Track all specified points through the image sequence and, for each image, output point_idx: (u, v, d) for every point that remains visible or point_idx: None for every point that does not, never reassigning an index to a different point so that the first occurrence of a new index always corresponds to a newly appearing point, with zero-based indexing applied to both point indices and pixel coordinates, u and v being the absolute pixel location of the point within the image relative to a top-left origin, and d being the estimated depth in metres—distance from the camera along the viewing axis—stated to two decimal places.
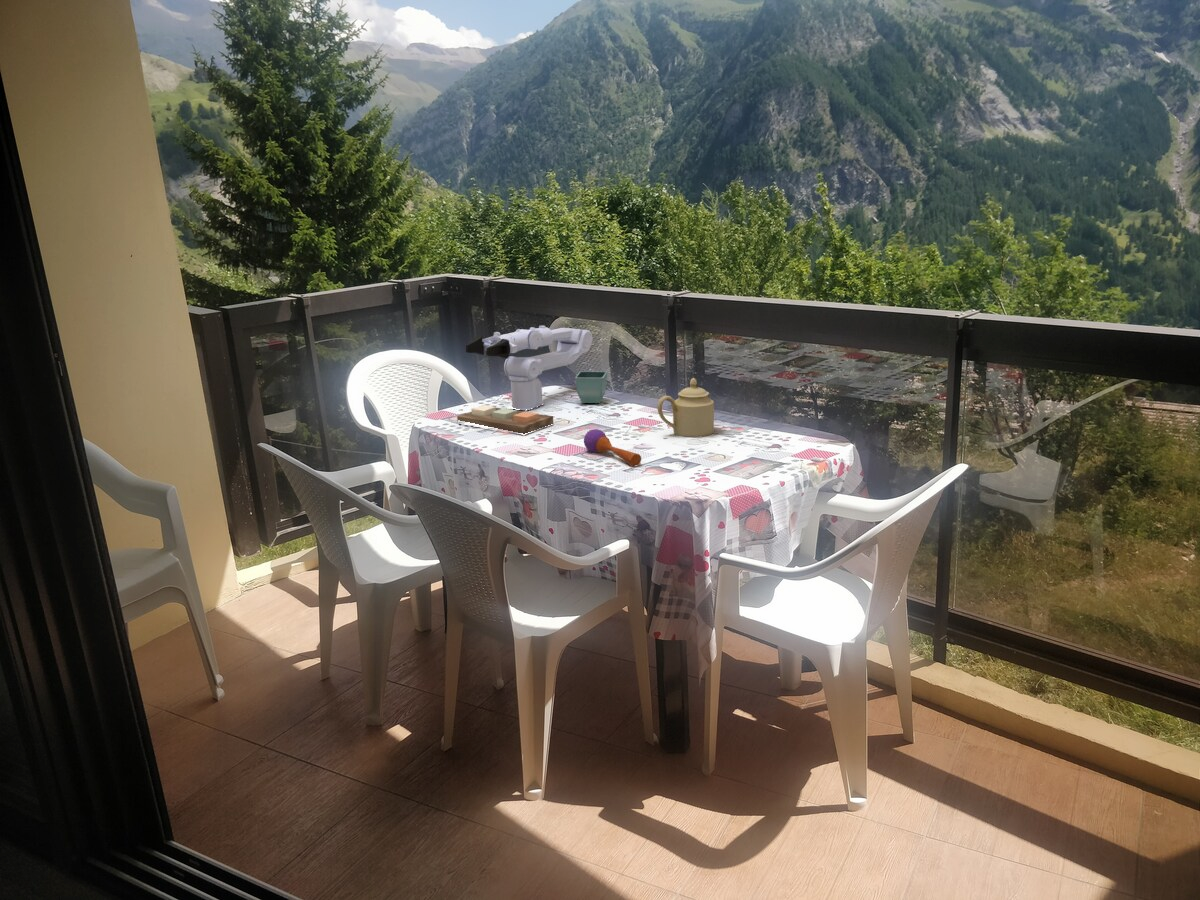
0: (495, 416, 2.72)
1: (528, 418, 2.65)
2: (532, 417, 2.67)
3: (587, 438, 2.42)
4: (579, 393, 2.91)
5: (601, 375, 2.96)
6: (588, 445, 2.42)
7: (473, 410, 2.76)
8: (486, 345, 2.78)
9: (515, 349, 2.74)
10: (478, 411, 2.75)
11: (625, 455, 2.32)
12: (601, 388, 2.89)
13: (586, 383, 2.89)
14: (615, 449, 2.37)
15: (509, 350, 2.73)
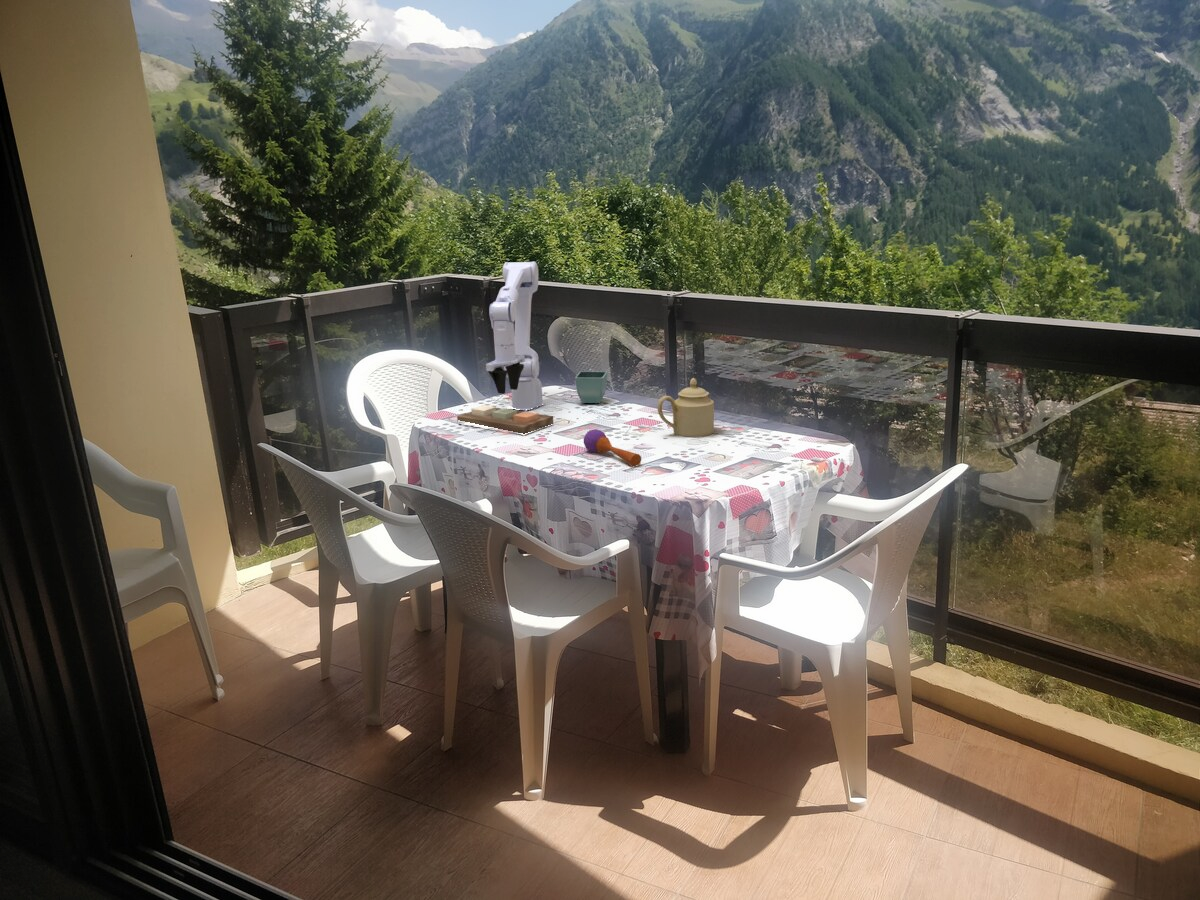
0: (495, 416, 2.72)
1: (528, 418, 2.65)
2: (532, 417, 2.67)
3: (587, 438, 2.42)
4: (579, 393, 2.91)
5: (601, 375, 2.96)
6: (588, 445, 2.42)
7: (473, 410, 2.76)
8: None
9: None
10: (478, 411, 2.75)
11: (625, 456, 2.32)
12: (601, 388, 2.89)
13: (586, 383, 2.89)
14: (615, 450, 2.36)
15: None
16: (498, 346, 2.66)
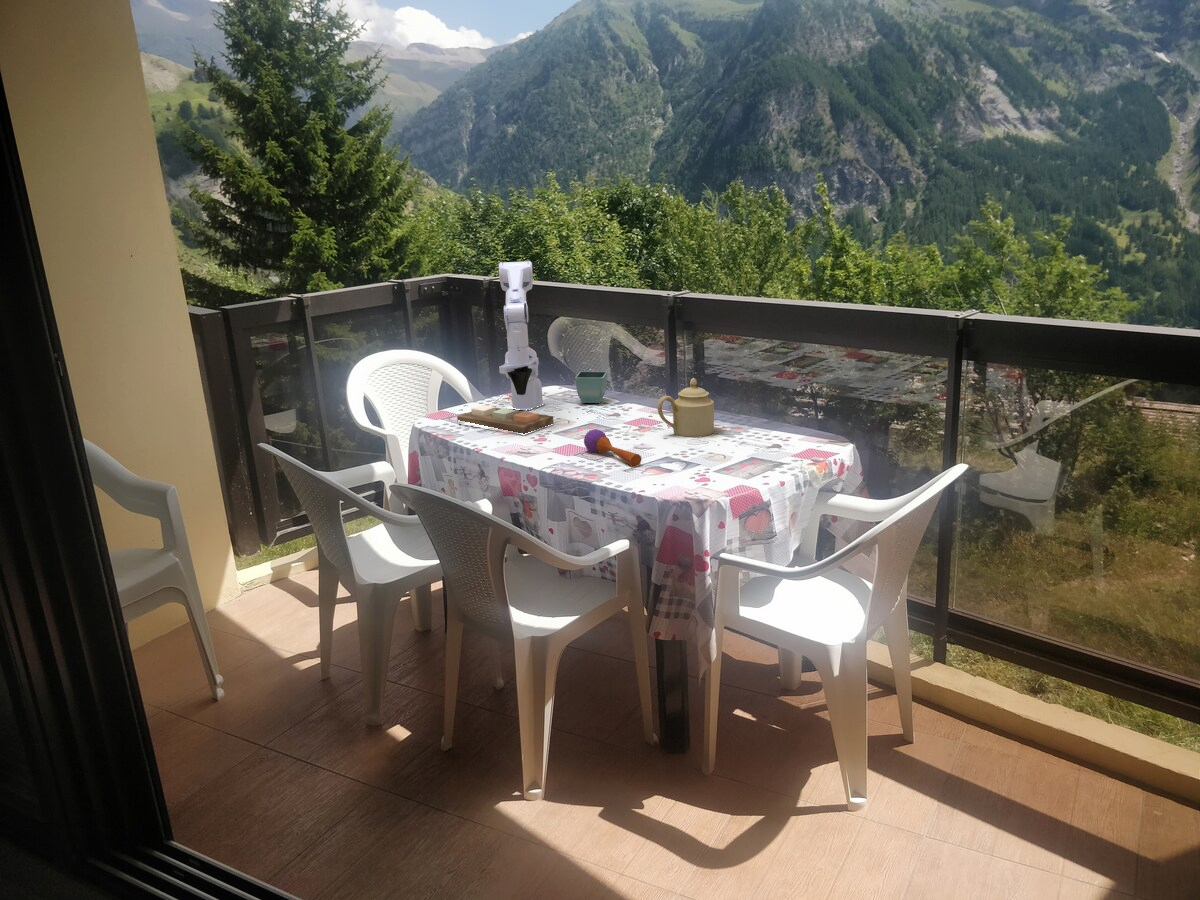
0: (495, 416, 2.72)
1: (528, 418, 2.65)
2: (532, 417, 2.67)
3: (587, 438, 2.42)
4: (579, 393, 2.91)
5: (601, 375, 2.96)
6: (588, 445, 2.42)
7: (473, 410, 2.76)
8: None
9: None
10: (478, 411, 2.75)
11: (625, 456, 2.32)
12: (601, 388, 2.89)
13: (586, 383, 2.89)
14: (615, 450, 2.36)
15: None
16: (511, 348, 2.61)
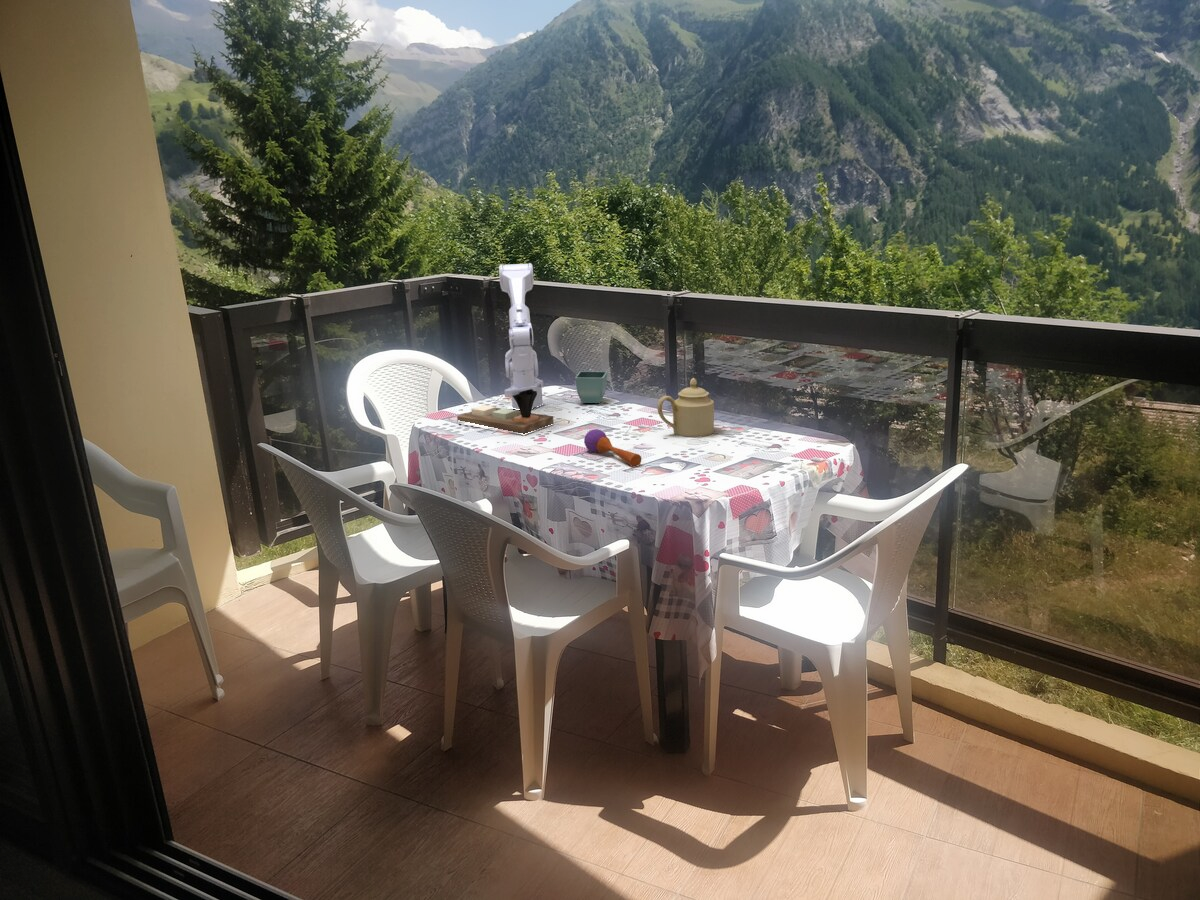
0: (495, 416, 2.72)
1: (528, 420, 2.65)
2: (532, 419, 2.67)
3: (587, 438, 2.42)
4: (579, 393, 2.91)
5: (601, 375, 2.96)
6: (589, 445, 2.42)
7: (473, 410, 2.76)
8: None
9: None
10: (478, 411, 2.75)
11: (625, 456, 2.32)
12: (601, 388, 2.89)
13: (586, 383, 2.89)
14: (616, 450, 2.36)
15: None
16: (517, 372, 2.62)
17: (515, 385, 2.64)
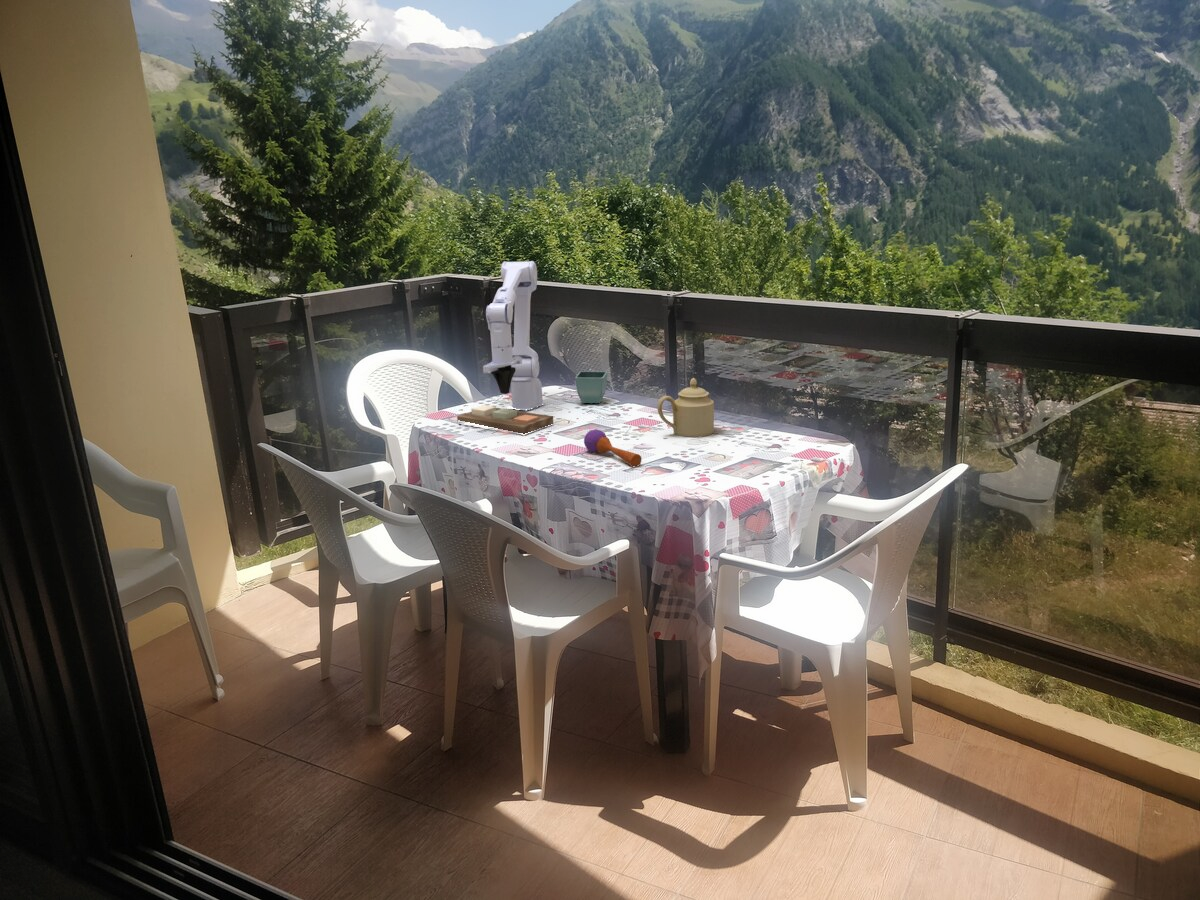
0: (495, 416, 2.72)
1: (528, 421, 2.65)
2: (532, 420, 2.67)
3: (587, 438, 2.42)
4: (579, 393, 2.91)
5: (601, 375, 2.96)
6: (589, 445, 2.42)
7: (473, 410, 2.76)
8: None
9: None
10: (478, 411, 2.75)
11: (625, 456, 2.32)
12: (601, 388, 2.89)
13: (586, 383, 2.89)
14: (616, 450, 2.36)
15: None
16: (495, 348, 2.64)
17: (494, 361, 2.66)
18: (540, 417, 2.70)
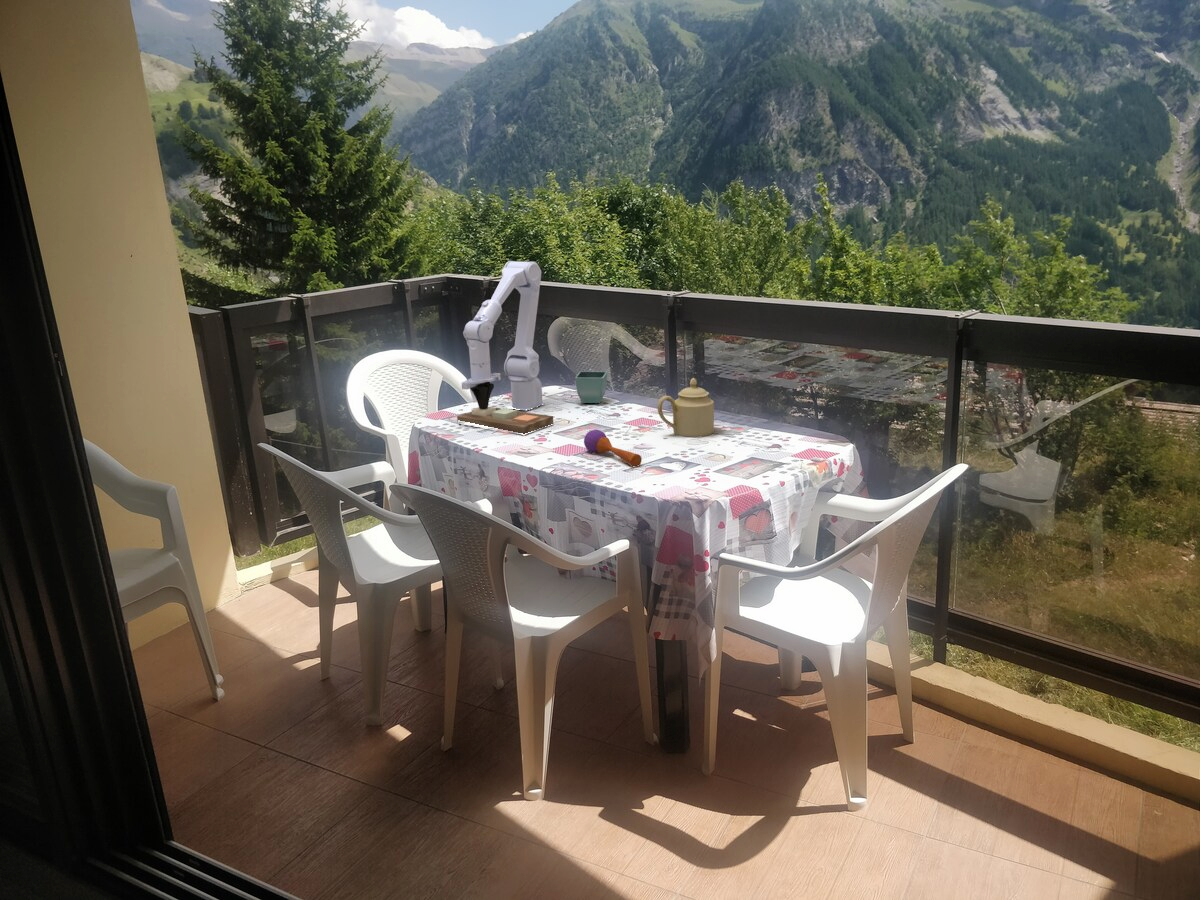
0: (495, 416, 2.72)
1: (528, 421, 2.65)
2: (532, 420, 2.67)
3: (587, 439, 2.42)
4: (579, 393, 2.91)
5: (601, 375, 2.96)
6: (589, 445, 2.42)
7: (473, 411, 2.76)
8: None
9: None
10: (478, 412, 2.75)
11: (625, 456, 2.32)
12: (601, 388, 2.89)
13: (586, 383, 2.89)
14: (616, 450, 2.36)
15: None
16: (473, 365, 2.71)
17: (472, 378, 2.73)
18: (540, 417, 2.70)
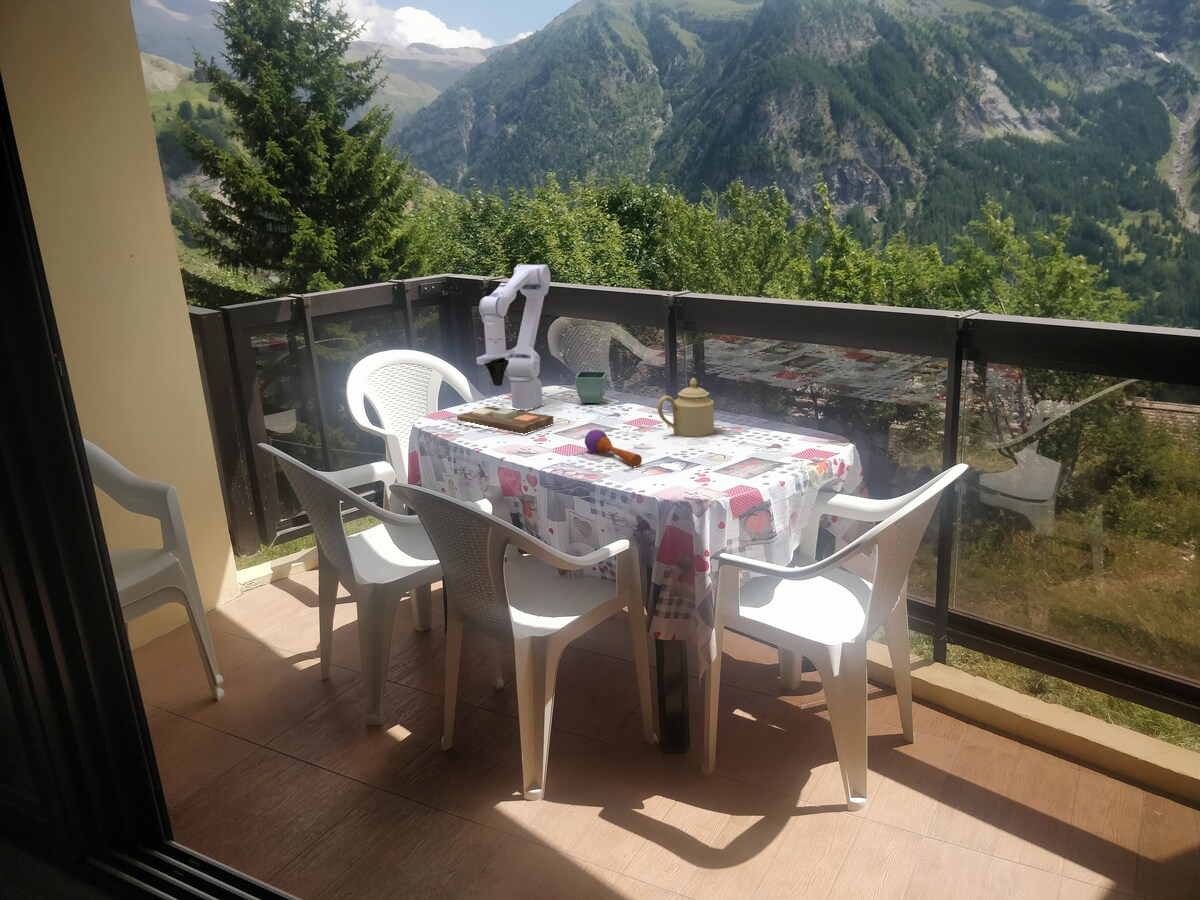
0: (495, 416, 2.72)
1: (528, 421, 2.65)
2: (532, 420, 2.67)
3: (588, 438, 2.42)
4: (579, 393, 2.91)
5: (601, 375, 2.96)
6: (589, 445, 2.42)
7: (473, 413, 2.76)
8: (489, 361, 2.72)
9: None
10: (478, 414, 2.75)
11: (626, 456, 2.32)
12: (601, 388, 2.89)
13: (586, 383, 2.89)
14: (616, 450, 2.36)
15: None
16: (489, 340, 2.70)
17: (487, 353, 2.72)
18: (540, 417, 2.70)
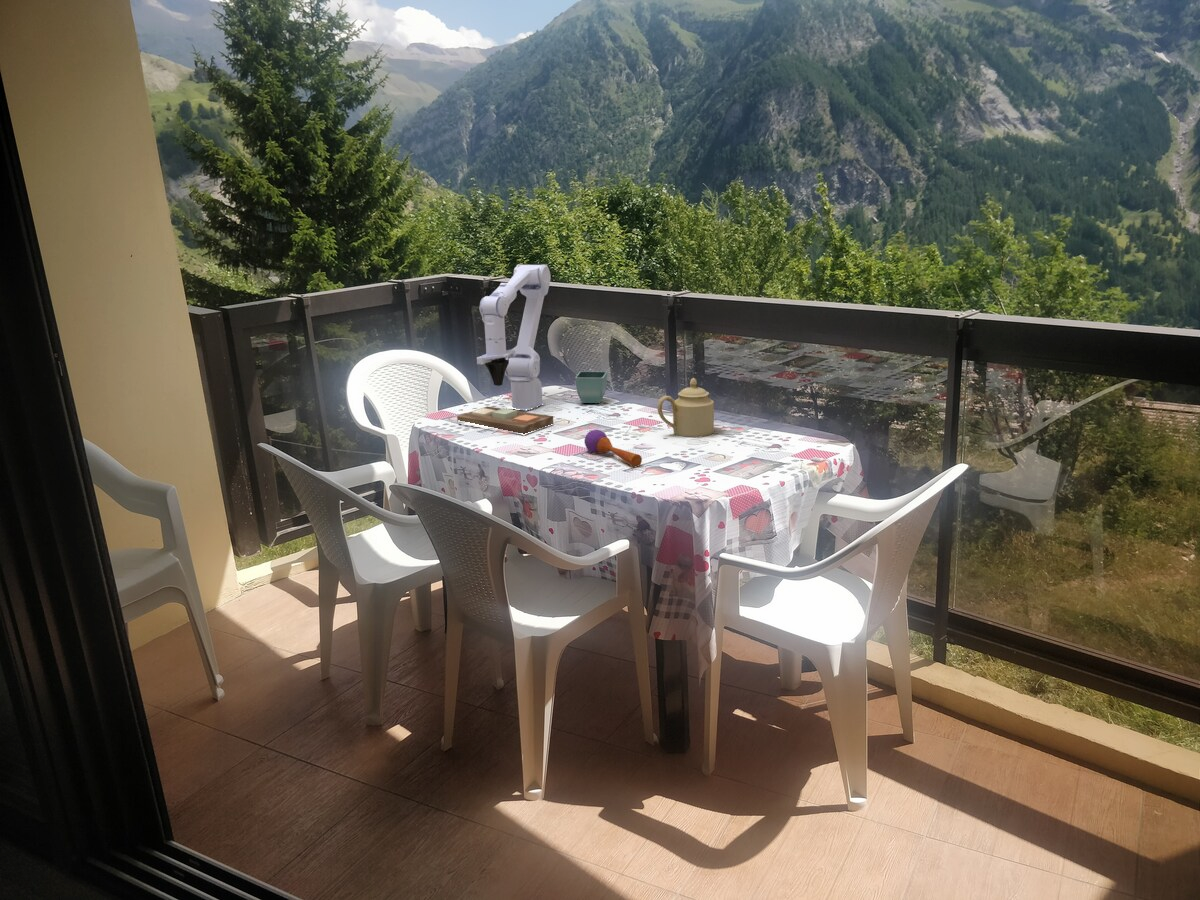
0: (495, 416, 2.72)
1: (528, 421, 2.65)
2: (532, 420, 2.67)
3: (588, 439, 2.42)
4: (579, 393, 2.91)
5: (601, 375, 2.96)
6: (589, 446, 2.42)
7: (473, 413, 2.76)
8: (490, 361, 2.72)
9: None
10: (478, 414, 2.75)
11: (626, 456, 2.32)
12: (601, 388, 2.89)
13: (586, 383, 2.89)
14: (616, 450, 2.36)
15: None
16: (489, 340, 2.70)
17: (487, 353, 2.72)
18: (540, 417, 2.70)
